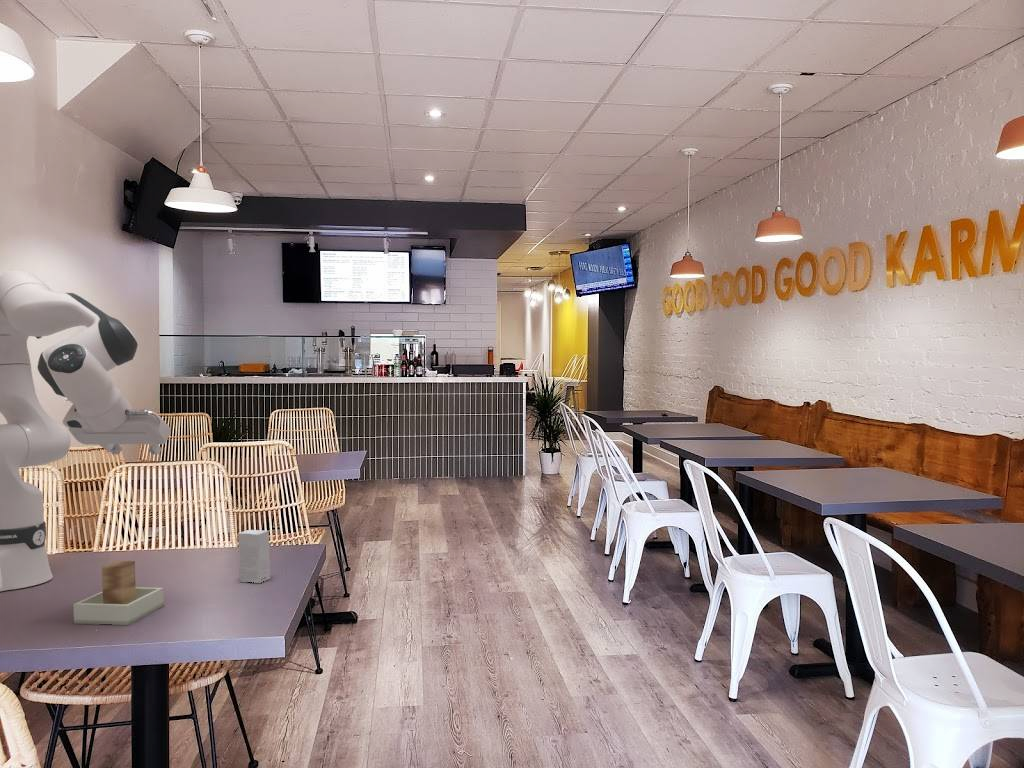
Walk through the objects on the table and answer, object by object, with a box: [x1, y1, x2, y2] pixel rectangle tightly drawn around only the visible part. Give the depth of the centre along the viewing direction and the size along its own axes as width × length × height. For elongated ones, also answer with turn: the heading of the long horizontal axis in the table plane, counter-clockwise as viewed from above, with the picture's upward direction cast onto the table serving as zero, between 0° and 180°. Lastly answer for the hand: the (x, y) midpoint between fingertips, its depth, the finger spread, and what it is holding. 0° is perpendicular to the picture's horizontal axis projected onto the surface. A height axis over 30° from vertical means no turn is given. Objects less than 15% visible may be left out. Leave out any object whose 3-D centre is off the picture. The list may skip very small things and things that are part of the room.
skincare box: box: [237, 529, 271, 584], centre depth 179 cm, size 6×4×12 cm
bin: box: [73, 586, 165, 626], centre depth 156 cm, size 12×12×4 cm
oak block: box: [101, 560, 137, 604], centre depth 156 cm, size 4×4×10 cm
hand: (137, 452), depth 164 cm, fingers open, 8 cm apart
